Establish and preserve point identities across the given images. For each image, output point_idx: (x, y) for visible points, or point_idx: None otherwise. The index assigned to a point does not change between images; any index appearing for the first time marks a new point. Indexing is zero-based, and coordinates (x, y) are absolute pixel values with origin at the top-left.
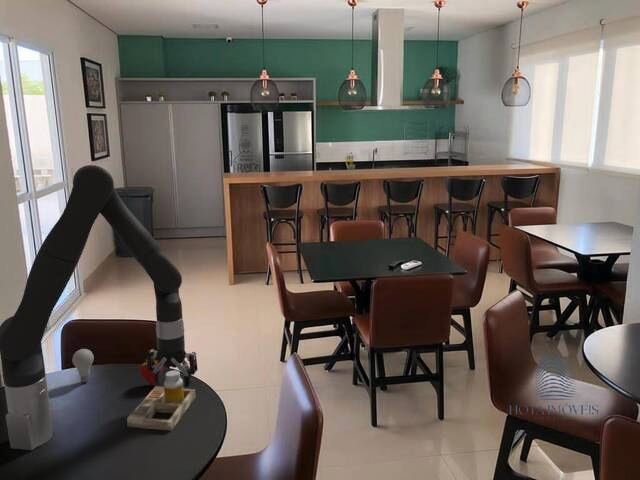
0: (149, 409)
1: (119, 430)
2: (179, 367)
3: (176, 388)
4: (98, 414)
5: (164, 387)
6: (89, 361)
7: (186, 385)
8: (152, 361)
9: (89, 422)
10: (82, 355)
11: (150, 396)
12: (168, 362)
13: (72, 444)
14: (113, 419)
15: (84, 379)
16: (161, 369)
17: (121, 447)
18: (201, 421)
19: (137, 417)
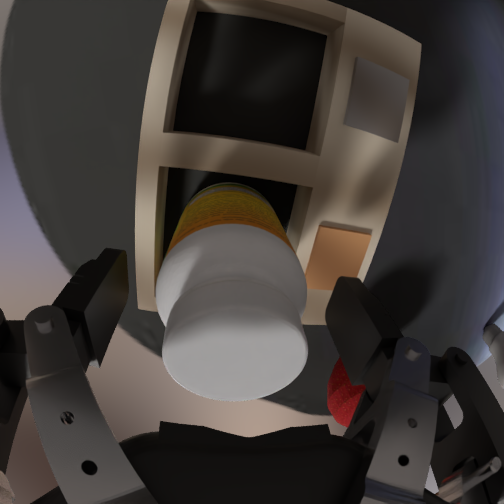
0: (342, 100)
1: (415, 36)
2: (69, 410)
3: (186, 235)
4: (487, 167)
5: (294, 251)
6: None
7: (101, 254)
8: (458, 432)
9: (496, 124)
10: None
11: (362, 233)
12: (292, 498)
13: (491, 24)
14: (453, 121)
15: (495, 327)
16: (334, 405)
17: None
18: (61, 87)
19: (380, 35)
